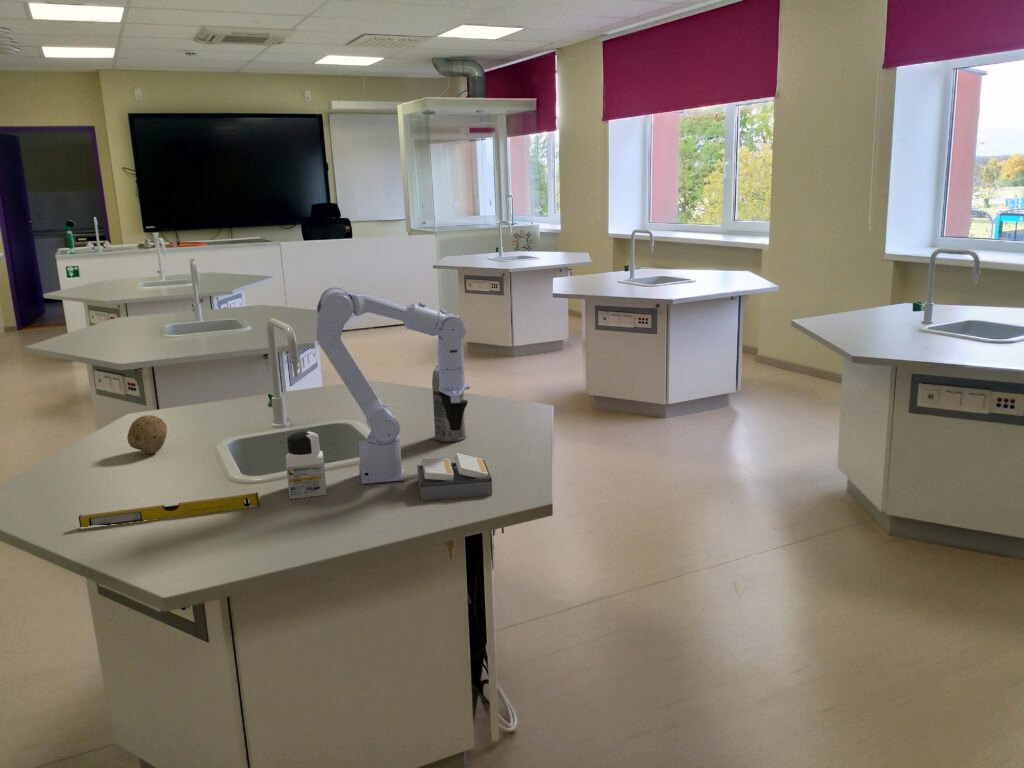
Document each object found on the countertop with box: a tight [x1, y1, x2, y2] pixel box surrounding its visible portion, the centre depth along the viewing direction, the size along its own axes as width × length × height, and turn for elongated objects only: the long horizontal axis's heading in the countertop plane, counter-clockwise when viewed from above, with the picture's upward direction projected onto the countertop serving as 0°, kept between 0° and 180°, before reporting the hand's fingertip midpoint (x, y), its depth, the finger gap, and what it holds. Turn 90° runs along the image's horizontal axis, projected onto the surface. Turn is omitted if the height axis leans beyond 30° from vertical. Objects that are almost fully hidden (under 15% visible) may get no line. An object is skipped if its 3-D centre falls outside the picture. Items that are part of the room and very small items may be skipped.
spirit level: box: [78, 491, 260, 528], centre depth 160 cm, size 33×1×3 cm, turn 107°
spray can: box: [431, 363, 467, 443], centre depth 203 cm, size 8×8×20 cm
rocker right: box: [454, 452, 488, 478], centre depth 172 cm, size 6×10×2 cm, turn 11°
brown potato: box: [126, 414, 168, 455], centre depth 197 cm, size 9×9×10 cm
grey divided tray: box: [416, 459, 493, 502], centre depth 172 cm, size 15×12×4 cm
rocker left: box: [421, 456, 454, 481], centre depth 171 cm, size 6×10×2 cm, turn 10°
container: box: [285, 430, 328, 500], centre depth 171 cm, size 8×8×13 cm
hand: (453, 425), depth 182 cm, fingers open, 7 cm apart
